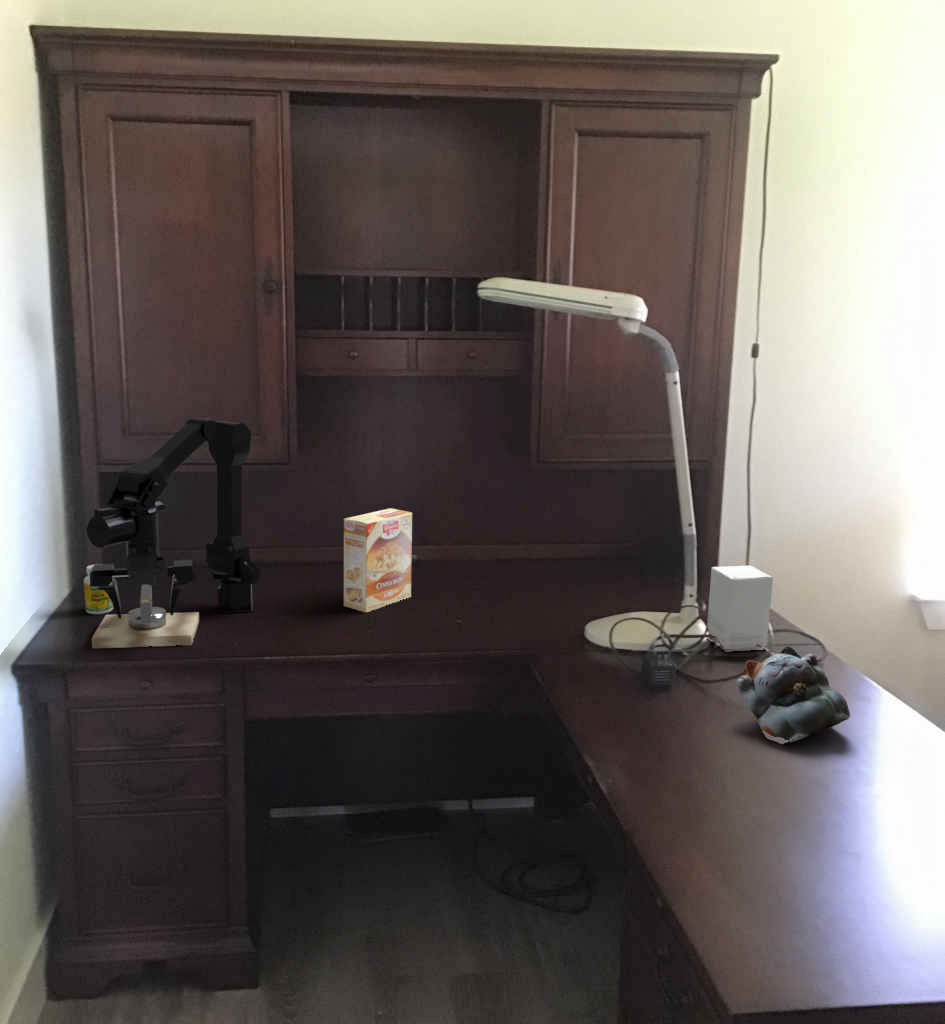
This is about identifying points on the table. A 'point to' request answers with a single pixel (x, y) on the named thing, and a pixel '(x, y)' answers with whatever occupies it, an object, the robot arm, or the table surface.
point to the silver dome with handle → (146, 612)
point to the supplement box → (739, 606)
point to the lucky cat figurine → (791, 695)
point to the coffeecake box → (377, 559)
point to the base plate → (146, 632)
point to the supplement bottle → (96, 597)
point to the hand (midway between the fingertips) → (146, 616)
